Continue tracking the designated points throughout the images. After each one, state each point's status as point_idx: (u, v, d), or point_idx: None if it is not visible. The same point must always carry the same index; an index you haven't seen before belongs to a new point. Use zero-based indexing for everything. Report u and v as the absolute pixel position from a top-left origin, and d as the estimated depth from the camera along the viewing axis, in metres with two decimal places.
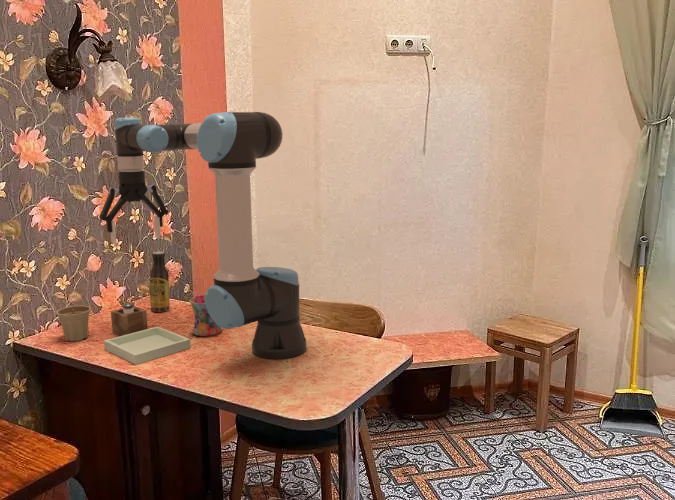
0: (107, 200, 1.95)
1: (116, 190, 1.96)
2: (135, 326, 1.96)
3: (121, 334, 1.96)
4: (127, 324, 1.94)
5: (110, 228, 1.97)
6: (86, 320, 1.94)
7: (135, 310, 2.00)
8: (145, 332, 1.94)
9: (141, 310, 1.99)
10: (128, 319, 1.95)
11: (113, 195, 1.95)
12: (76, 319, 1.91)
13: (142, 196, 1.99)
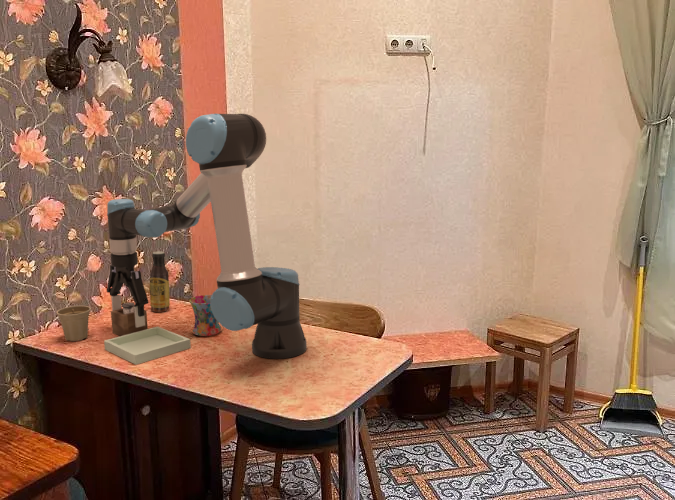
0: None
1: (115, 268, 1.99)
2: (135, 326, 1.96)
3: (121, 334, 1.96)
4: (127, 324, 1.94)
5: None
6: (86, 320, 1.94)
7: None
8: (145, 332, 1.94)
9: None
10: (128, 319, 1.95)
11: (111, 272, 1.99)
12: (76, 319, 1.91)
13: (124, 280, 1.94)
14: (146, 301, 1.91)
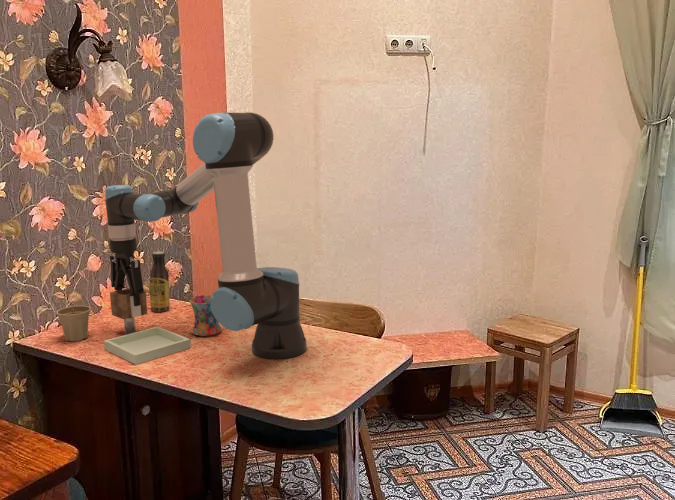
0: None
1: (115, 257, 1.98)
2: None
3: (120, 315, 1.94)
4: (126, 305, 1.93)
5: None
6: (86, 320, 1.94)
7: None
8: (145, 332, 1.94)
9: None
10: (128, 300, 1.93)
11: (111, 262, 1.98)
12: (76, 319, 1.91)
13: (122, 267, 1.93)
14: (142, 291, 1.92)
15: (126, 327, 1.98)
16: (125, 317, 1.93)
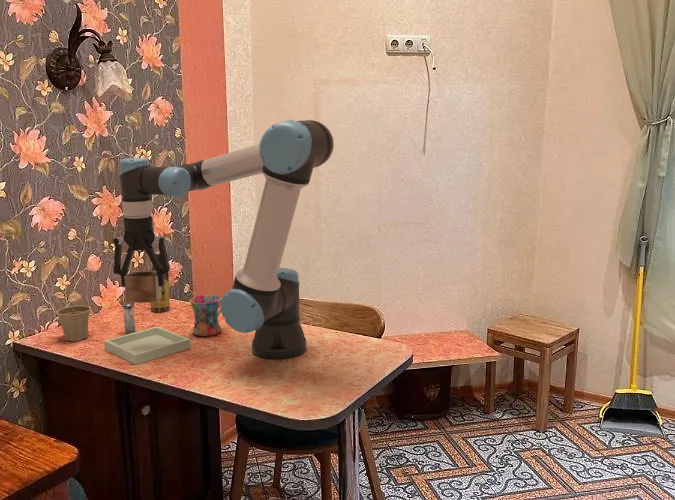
0: None
1: (120, 239, 1.79)
2: None
3: (146, 298, 1.80)
4: (154, 286, 1.80)
5: (123, 282, 1.82)
6: (86, 320, 1.94)
7: (143, 273, 1.84)
8: (145, 332, 1.94)
9: (154, 271, 1.85)
10: (154, 280, 1.80)
11: (117, 245, 1.79)
12: (76, 319, 1.91)
13: (144, 246, 1.79)
14: (169, 269, 1.82)
15: (126, 327, 1.98)
16: (154, 299, 1.80)
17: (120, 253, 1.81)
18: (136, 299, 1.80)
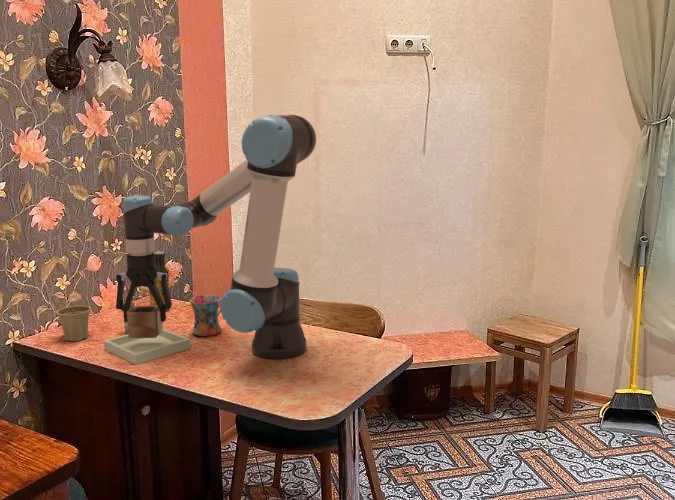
0: None
1: (123, 275, 1.81)
2: None
3: (148, 334, 1.82)
4: (156, 321, 1.82)
5: (126, 318, 1.84)
6: (86, 320, 1.94)
7: (145, 308, 1.87)
8: None
9: (156, 306, 1.87)
10: (156, 316, 1.82)
11: (120, 282, 1.81)
12: (76, 319, 1.91)
13: (147, 283, 1.81)
14: (171, 304, 1.85)
15: (126, 327, 1.98)
16: (156, 335, 1.82)
17: (123, 289, 1.83)
18: (138, 335, 1.82)
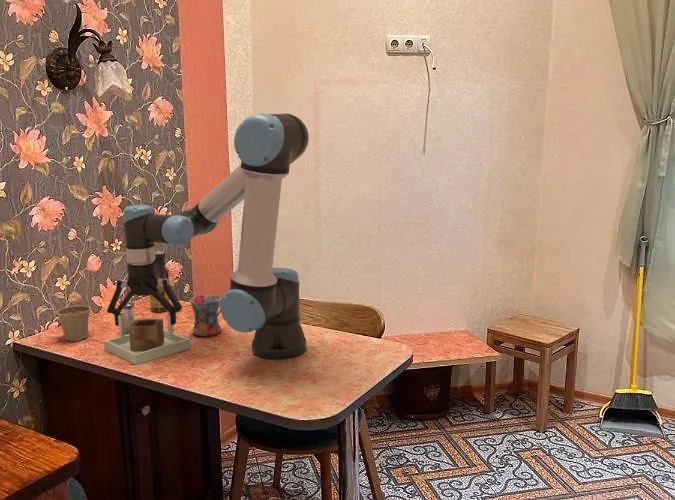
0: None
1: (124, 282, 1.82)
2: (160, 336, 1.85)
3: (150, 348, 1.82)
4: (157, 335, 1.83)
5: (117, 321, 1.84)
6: (86, 320, 1.94)
7: (147, 321, 1.87)
8: None
9: (157, 319, 1.88)
10: (158, 330, 1.83)
11: (119, 288, 1.81)
12: (76, 319, 1.91)
13: (150, 291, 1.81)
14: (181, 307, 1.85)
15: (126, 327, 1.98)
16: None
17: (119, 295, 1.83)
18: (140, 348, 1.82)
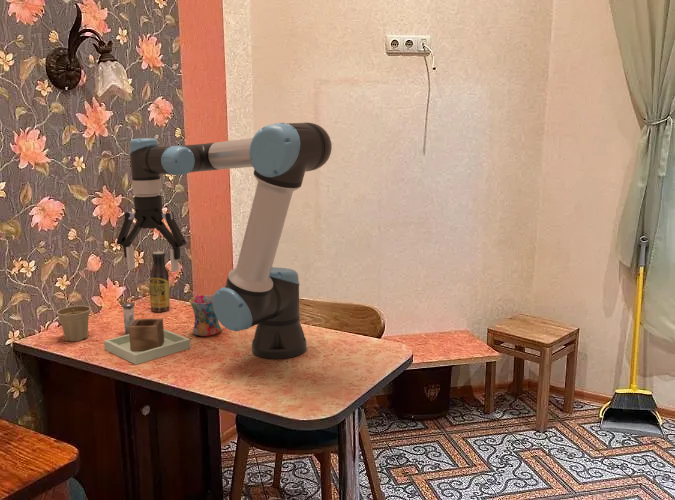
0: None
1: (132, 215, 1.85)
2: (160, 336, 1.85)
3: (150, 348, 1.82)
4: (157, 335, 1.83)
5: (126, 253, 1.88)
6: (86, 320, 1.94)
7: (147, 321, 1.87)
8: None
9: (157, 319, 1.88)
10: (158, 330, 1.83)
11: (127, 220, 1.85)
12: (76, 319, 1.91)
13: (153, 224, 1.83)
14: (184, 242, 1.84)
15: (126, 327, 1.98)
16: None
17: (128, 227, 1.87)
18: (140, 348, 1.82)
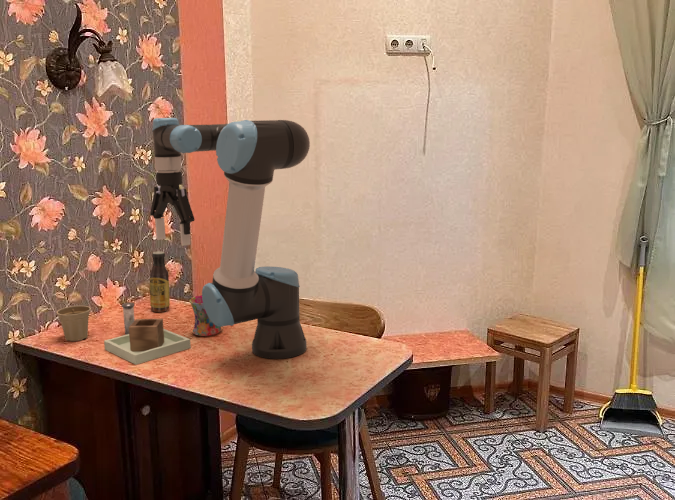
0: None
1: (159, 189, 1.99)
2: (160, 336, 1.85)
3: (150, 348, 1.82)
4: (157, 335, 1.83)
5: None
6: (86, 320, 1.94)
7: (147, 321, 1.87)
8: None
9: (157, 319, 1.88)
10: (158, 330, 1.83)
11: (155, 193, 2.00)
12: (76, 319, 1.91)
13: (169, 199, 1.94)
14: (192, 218, 1.91)
15: (126, 327, 1.98)
16: None
17: (158, 200, 2.02)
18: (140, 348, 1.82)
